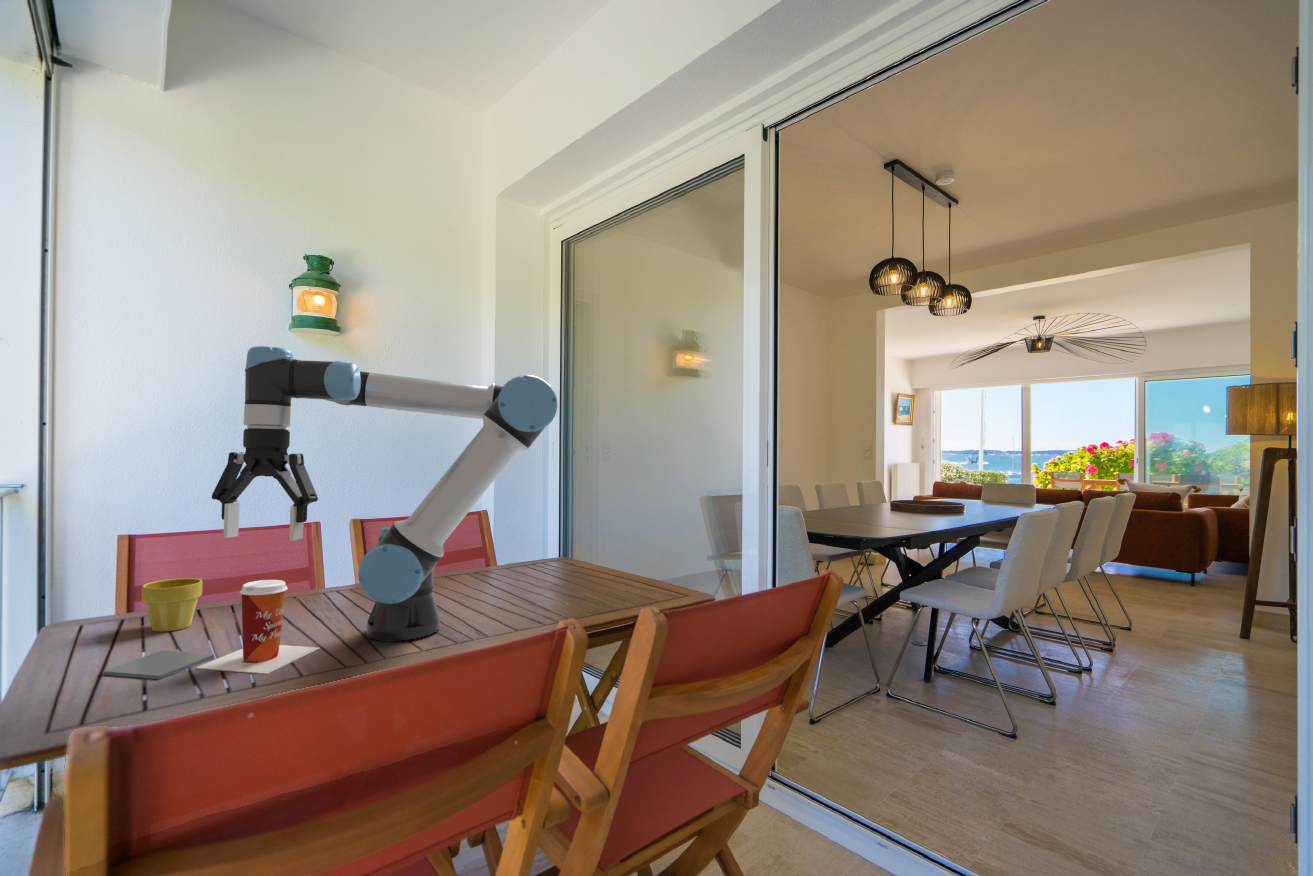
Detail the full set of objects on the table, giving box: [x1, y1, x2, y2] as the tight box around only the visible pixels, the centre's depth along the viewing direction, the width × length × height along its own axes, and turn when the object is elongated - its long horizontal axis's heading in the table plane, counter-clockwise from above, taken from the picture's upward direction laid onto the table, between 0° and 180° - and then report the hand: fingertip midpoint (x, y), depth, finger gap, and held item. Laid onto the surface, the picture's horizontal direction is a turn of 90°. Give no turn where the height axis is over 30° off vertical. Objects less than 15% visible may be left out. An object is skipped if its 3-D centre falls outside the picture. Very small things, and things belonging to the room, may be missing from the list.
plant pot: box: [141, 577, 203, 633], centre depth 131 cm, size 10×10×10 cm
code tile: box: [195, 644, 321, 675], centre depth 114 cm, size 14×14×1 cm
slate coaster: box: [102, 650, 215, 680], centre depth 109 cm, size 11×11×1 cm
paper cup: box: [239, 579, 288, 662], centre depth 115 cm, size 8×8×14 cm
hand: (263, 538), depth 115 cm, fingers open, 13 cm apart
